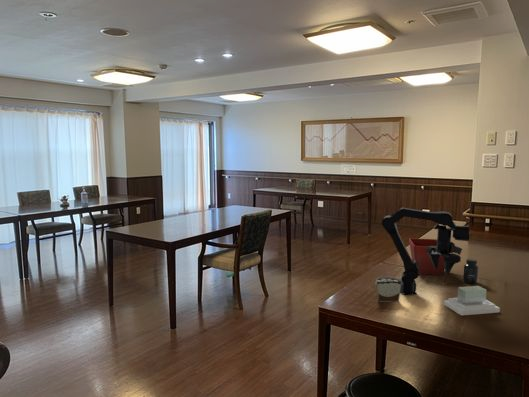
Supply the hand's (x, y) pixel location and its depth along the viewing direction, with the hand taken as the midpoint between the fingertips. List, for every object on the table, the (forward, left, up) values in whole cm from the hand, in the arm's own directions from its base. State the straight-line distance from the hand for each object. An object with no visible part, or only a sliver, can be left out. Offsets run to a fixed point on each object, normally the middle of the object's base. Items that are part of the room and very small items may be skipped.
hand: (441, 271), depth 185 cm
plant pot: (+17, +37, -13) cm, 42 cm away
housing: (+5, -15, -10) cm, 19 cm away
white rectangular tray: (+5, -15, -12) cm, 20 cm away
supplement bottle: (+28, +16, -12) cm, 34 cm away
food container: (-26, +2, -12) cm, 29 cm away
